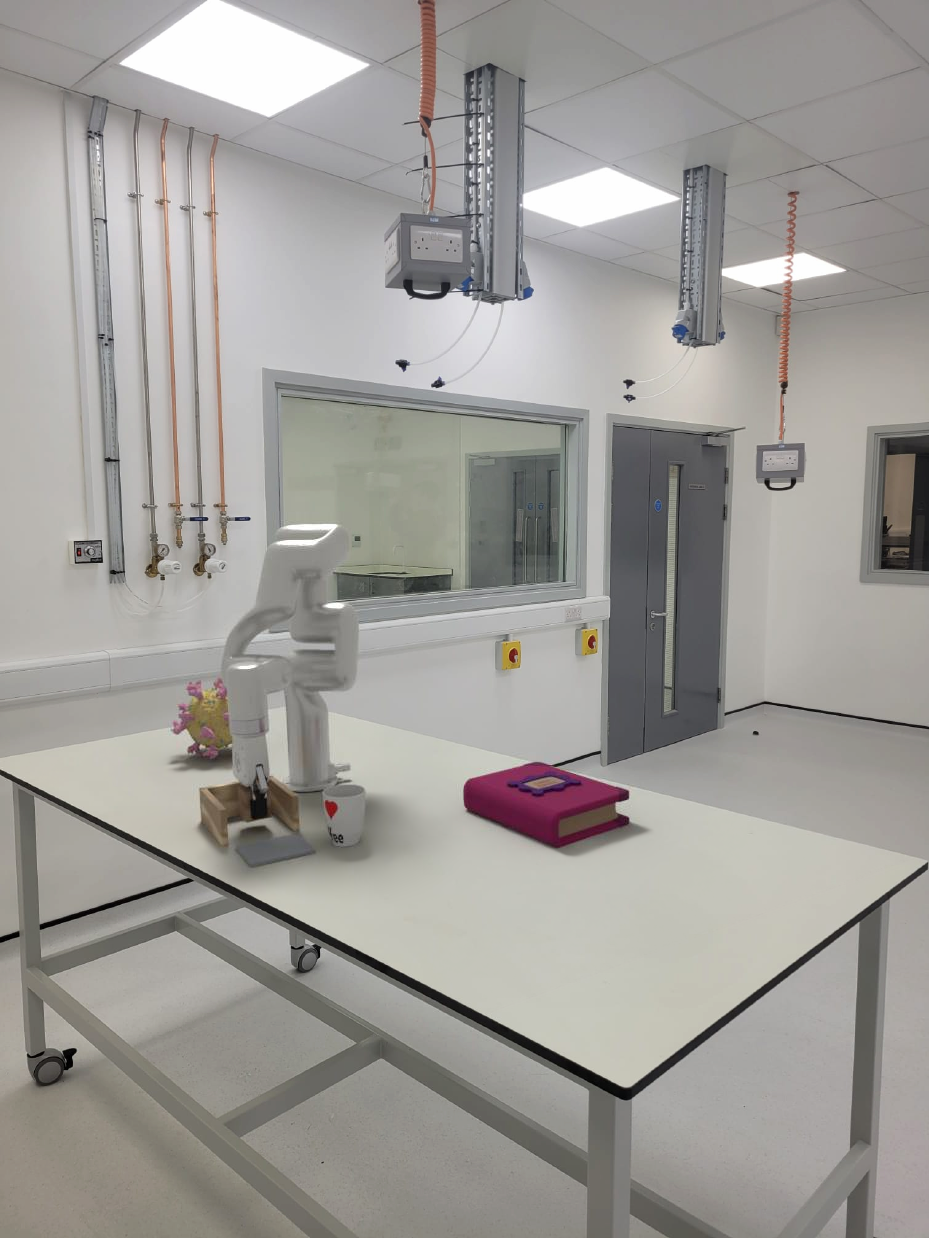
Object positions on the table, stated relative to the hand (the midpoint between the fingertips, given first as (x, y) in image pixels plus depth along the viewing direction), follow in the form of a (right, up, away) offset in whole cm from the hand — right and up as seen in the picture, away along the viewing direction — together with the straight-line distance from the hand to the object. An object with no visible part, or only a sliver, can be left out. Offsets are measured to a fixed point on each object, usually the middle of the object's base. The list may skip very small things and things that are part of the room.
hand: (255, 812), depth 174 cm
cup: (+19, -4, -8) cm, 21 cm away
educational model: (-23, +3, +56) cm, 60 cm away
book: (+58, -2, +4) cm, 59 cm away
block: (0, -1, 0) cm, 1 cm away
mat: (+6, -5, -12) cm, 14 cm away
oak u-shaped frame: (-2, -3, +2) cm, 4 cm away
